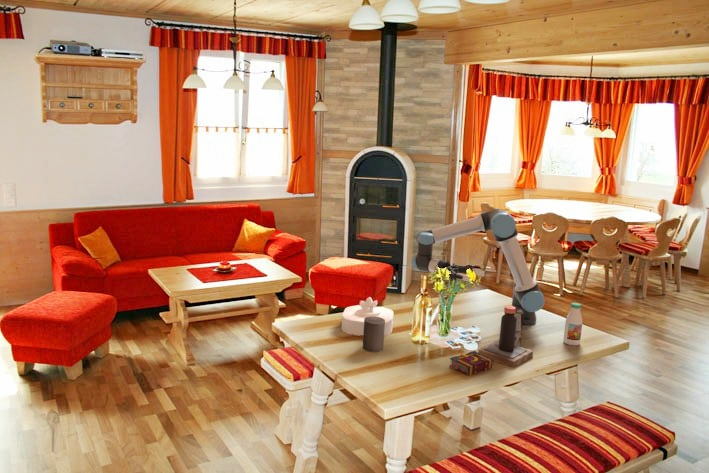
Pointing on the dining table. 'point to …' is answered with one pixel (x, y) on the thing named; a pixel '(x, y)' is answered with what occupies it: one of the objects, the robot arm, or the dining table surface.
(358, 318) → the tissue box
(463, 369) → the decorative book
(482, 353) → the brown flat square board
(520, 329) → the coffee box
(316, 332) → the dining table surface
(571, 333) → the milk bottle
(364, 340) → the pillar candle
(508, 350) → the vinegar
